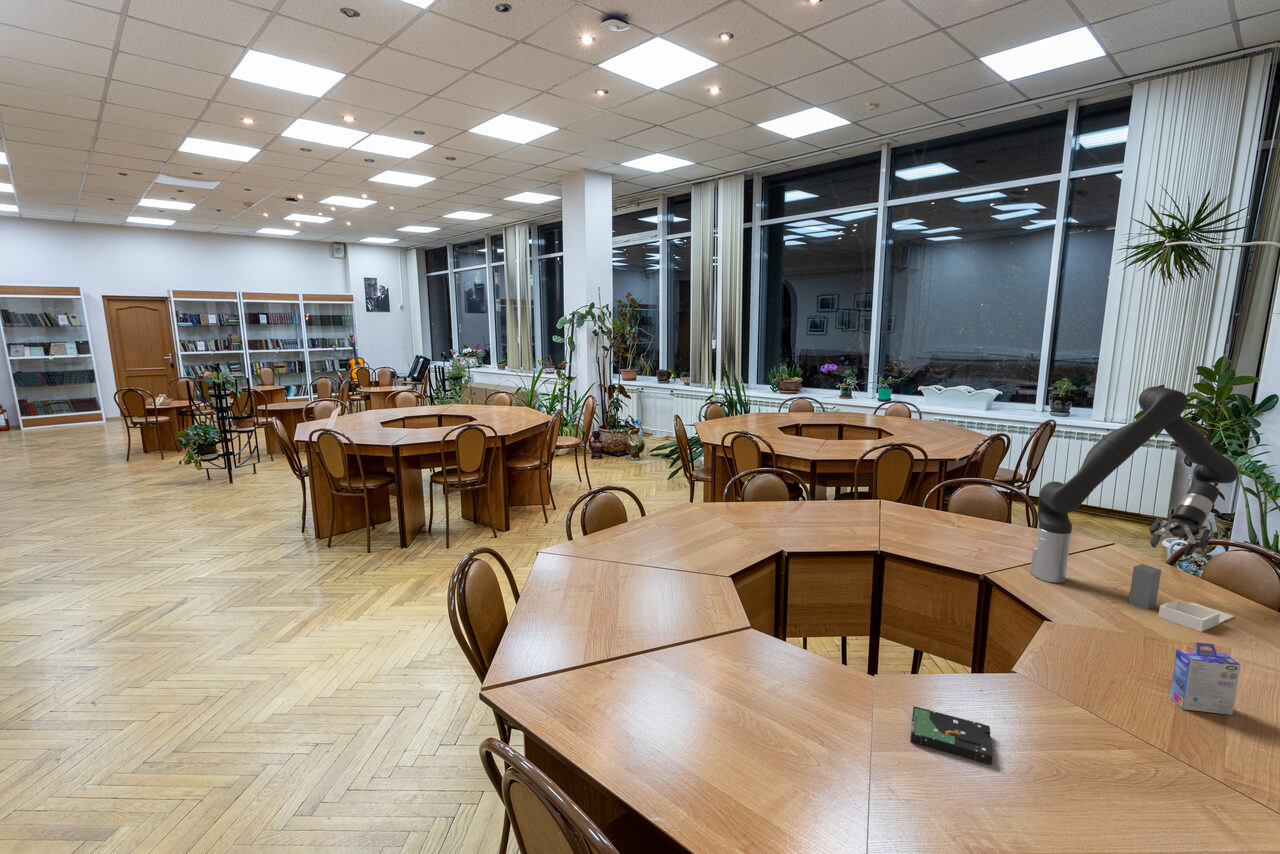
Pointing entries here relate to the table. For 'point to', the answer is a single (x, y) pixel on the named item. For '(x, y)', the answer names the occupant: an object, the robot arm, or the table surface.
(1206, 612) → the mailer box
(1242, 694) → the table surface
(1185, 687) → the ink cartridge box
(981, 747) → the disk drive
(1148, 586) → the charcoal carton
